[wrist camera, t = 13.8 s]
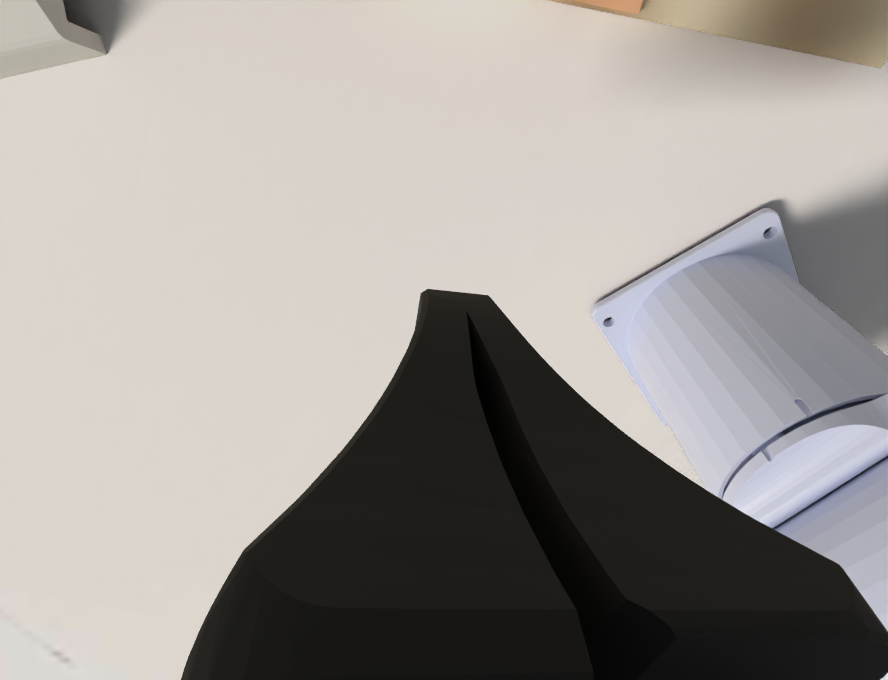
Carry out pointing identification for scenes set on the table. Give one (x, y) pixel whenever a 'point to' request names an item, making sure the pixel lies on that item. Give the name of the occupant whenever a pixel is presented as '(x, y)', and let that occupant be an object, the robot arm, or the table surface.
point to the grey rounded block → (41, 37)
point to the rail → (773, 23)
